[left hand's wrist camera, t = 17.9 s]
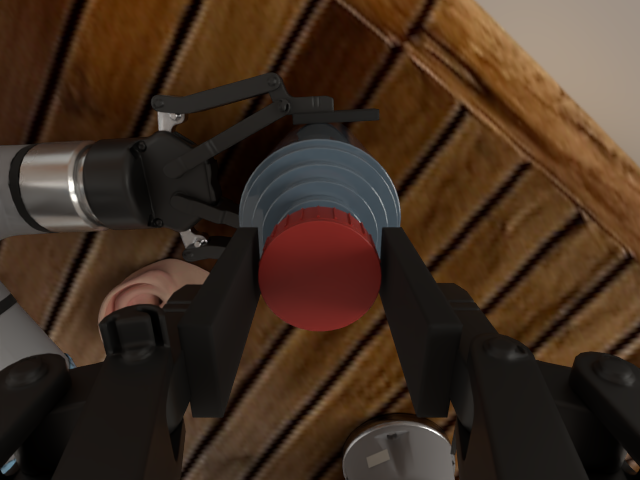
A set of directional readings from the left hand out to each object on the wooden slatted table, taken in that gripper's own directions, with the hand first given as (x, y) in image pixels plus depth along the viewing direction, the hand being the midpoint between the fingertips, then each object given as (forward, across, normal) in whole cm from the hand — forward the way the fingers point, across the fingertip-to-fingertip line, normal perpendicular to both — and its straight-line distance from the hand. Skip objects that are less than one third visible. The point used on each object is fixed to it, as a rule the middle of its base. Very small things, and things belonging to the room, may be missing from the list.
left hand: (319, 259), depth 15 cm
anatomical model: (+24, +18, +16) cm, 34 cm away
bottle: (+24, 0, 0) cm, 24 cm away
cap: (-1, 0, 0) cm, 1 cm away
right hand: (+17, -5, 0) cm, 18 cm away
